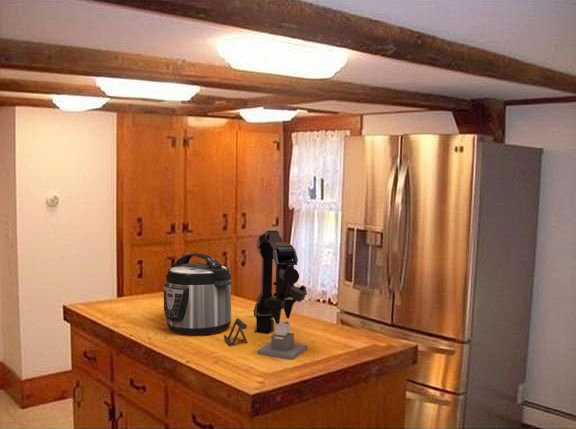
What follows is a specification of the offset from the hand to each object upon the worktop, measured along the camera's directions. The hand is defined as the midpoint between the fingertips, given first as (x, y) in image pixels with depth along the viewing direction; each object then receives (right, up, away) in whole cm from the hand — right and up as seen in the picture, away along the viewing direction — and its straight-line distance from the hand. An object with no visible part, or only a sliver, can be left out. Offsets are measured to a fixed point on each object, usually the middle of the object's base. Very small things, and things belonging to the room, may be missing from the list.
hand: (282, 320), depth 217 cm
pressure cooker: (-36, -9, +31) cm, 48 cm away
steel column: (0, -10, +1) cm, 10 cm away
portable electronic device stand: (-18, -11, +12) cm, 24 cm away
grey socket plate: (0, -12, +1) cm, 12 cm away
